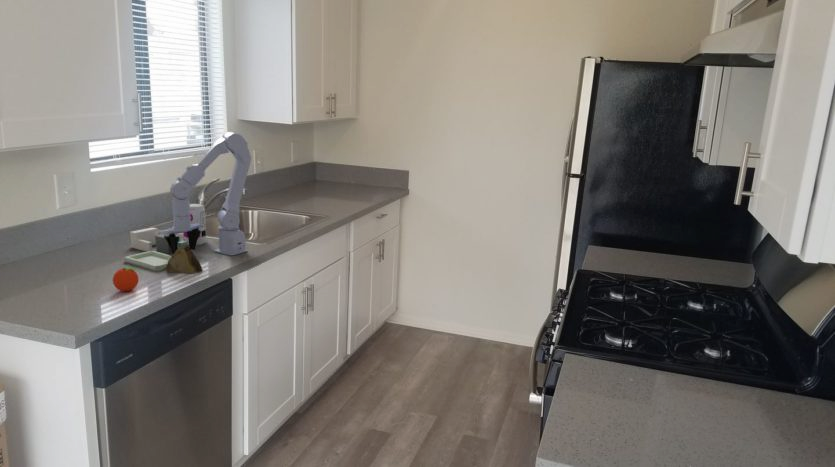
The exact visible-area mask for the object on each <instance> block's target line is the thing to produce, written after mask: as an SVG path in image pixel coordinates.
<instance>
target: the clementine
mask: <svg viewBox="0 0 835 467" xmlns="http://www.w3.org/2000/svg"><path fill="white" fill-rule="evenodd" d="M136 271H137V272H140V274H142V272H141V271H140V270H138V269H137V268H133V267H123V268H120V269H117V271H116V272H115V273H114V274H113V276H112V283H113V285H114V287H115V288H116V289H117V290H119V291H121V292H130V291H133V290H134V289H135V288H136V287H137V286H138V283H139V275H138V273H137V272H136Z"/></svg>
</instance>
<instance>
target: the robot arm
mask: <svg viewBox="0 0 835 467" xmlns="http://www.w3.org/2000/svg"><path fill="white" fill-rule="evenodd" d="M228 153H231V154H232V157H233V158H234V159H235V161H234V162H235V163H234V166H233V171H232V174H231V178H230V182H229V185H228V186H229V187H228V188H227V189H228V190H227V192H226V193H227V194H226V198H225V201H224V202H223V204H222V207H221V208H220V210H219V211H218V212H217V215H216V216H217V217H216V218H217V219H216V220H217V221H218V222H219V223H220V224H219V225H218V227H217V228H218V248H216V249H214V250H213V251H214V252H216V253H219V254H224V255H227V256H235V255H240V254H243V253H245V252H246V251H247V252H248V249H247V248H246V234H245V232H244V231H243V230H240V227H239V225H240V222H241V221H240V212H241V211H240V203H241V199H242V196H243V193H244V192H243V191H244V188H245V183H246V180H247V176H248V173H249V169H250V166H251V161H252V155H251V152H250V150H249V147H248V142H247V141H246V139H245V138H244V137H243V135H242V134H240V133H236V132H235V131H234V132H233V131H226V132H225V133H223V135H222V136H221V137H219V138H218V139H216V141H215V142H214V143H213V145H212V146H211V147H210V149H209V150H207V152H206V153H205V154H204V155H203V157H201V159H200V160H199V161H198V163H197V164H196V163H195V164H190V166H189V165H187V166H186V167H185V171H184V172H183V173H182V175H181V176H178V177H177V178H176V180H177V181H176V180H175V181H174V182H172V184H171V185H170V188H169V191H170V193H171V194H172V203H171V204H172V220H173V221H172V222H173V223H172V224H173V225H172V227H169V228H167V229H163V230H162V234H163V236H164V238H165V239H166V241H167V242H168V244H169V246H170V249H171V252H172V254H171V255H173V254H174V253H175V252H176V250H177V249H178V248H177V245H178V239H179V237H180V236H179V237H177V236H178V235H177V234H181V233H183V232H187V235H188V239H189V245H188V247H189V248H190V249H191V250H192V251H196V248H197V247H196V246H197V245H196V243H197V240H198V237H199V235H200V234H201V231H200V230H199V229H201V224H198V223H196V224H191V220H190V204H191V203H190V196H191V193H192V190H193V189H194V188H195V187H196V186H197V184H198V183H200V182H201V181H202V179H203V178H204V177H205V176H206V172H205V171H206V169H208V168H209V167H210V165H212V163H214V161H215V160H216V159H217V158H219V156H220V155H221V156H222V155H225V154H228ZM176 235H177V236H176Z"/></svg>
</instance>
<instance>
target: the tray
mask: <svg viewBox="0 0 835 467" xmlns="http://www.w3.org/2000/svg"><path fill="white" fill-rule="evenodd" d="M172 256H173V255H172V254H169V255H168V254H164V253H160V252H157V251H156V250H152V251H148V252H147V251H143V252H140V253H136V254H131V255H128V256H123V262H124V263H126V264H129V265H134V266H136V267H140V268H142V269H143V268H144V269H146V270H151V271H154V272H160V271H164V270H165V271H166V266H167V264H168V261H169V260H170V258H171V257H172Z"/></svg>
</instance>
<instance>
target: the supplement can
mask: <svg viewBox="0 0 835 467" xmlns="http://www.w3.org/2000/svg"><path fill="white" fill-rule="evenodd" d="M190 220H191V224H196V223H198V224H201V229H199V230H200V231H201V234H200V235H199V237H198V240H197V243H196V246H201V245H204V244H205V243H206V242H207V226H206V224H207V223H206V208H205V207H204V205H203V204H202V203H190ZM183 241H185V242H187V246H189V239H188V235H187V232H183Z"/></svg>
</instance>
